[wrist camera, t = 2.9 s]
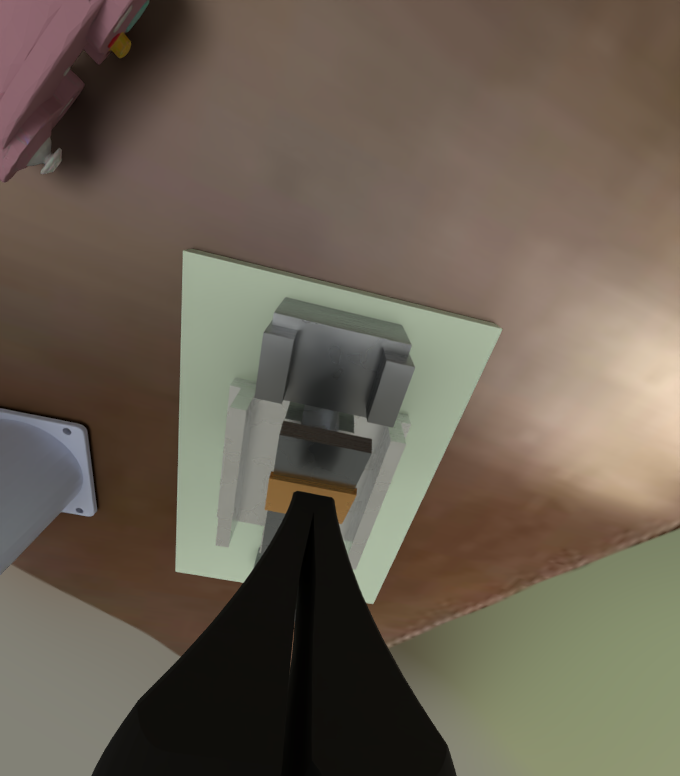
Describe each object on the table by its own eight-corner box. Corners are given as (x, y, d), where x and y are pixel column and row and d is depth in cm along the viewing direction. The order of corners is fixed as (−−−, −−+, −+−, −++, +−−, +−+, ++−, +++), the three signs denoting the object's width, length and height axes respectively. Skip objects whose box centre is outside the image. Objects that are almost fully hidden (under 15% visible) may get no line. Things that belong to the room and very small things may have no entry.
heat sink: (221, 505, 23) (205, 543, 21) (235, 377, 19) (216, 404, 16) (363, 531, 24) (365, 571, 22) (408, 414, 20) (417, 446, 17)
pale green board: (181, 560, 28) (175, 571, 27) (191, 248, 17) (183, 250, 16) (372, 592, 29) (373, 603, 28) (495, 323, 18) (502, 329, 17)
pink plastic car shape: (61, 166, 17) (10, 226, 12) (-71, 62, 13) (-206, 93, 9) (195, -12, 14) (193, -17, 9) (69, -199, 11) (-26, -342, 6)
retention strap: (255, 582, 22) (252, 596, 22) (280, 419, 11) (274, 439, 11) (303, 590, 23) (301, 604, 22) (375, 439, 11) (374, 459, 11)
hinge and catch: (241, 561, 26) (223, 620, 22) (283, 296, 17) (264, 320, 13) (321, 575, 27) (316, 634, 23) (403, 325, 17) (419, 356, 14)
